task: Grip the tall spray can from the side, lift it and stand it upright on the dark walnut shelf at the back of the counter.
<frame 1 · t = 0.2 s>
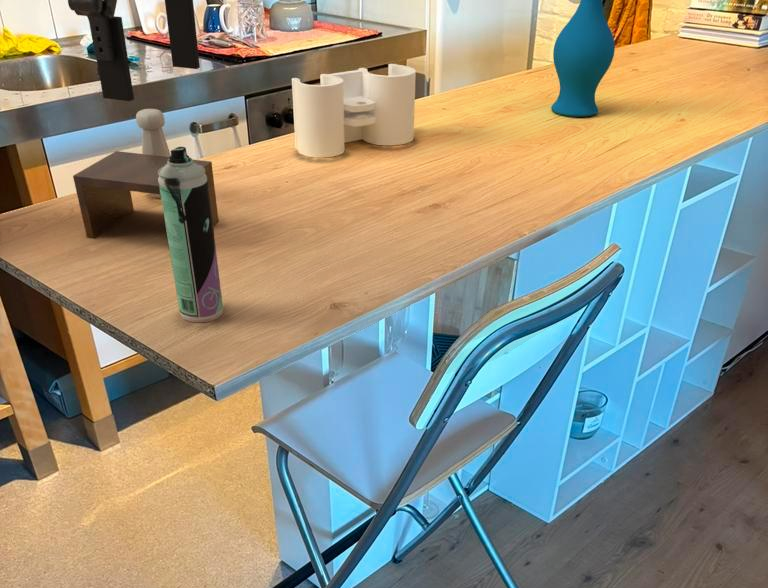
hand: (154, 82, 79), 28 cm above the breakfast bar, tool pointing down, fingers open, 13 cm apart
spray can: (202, 313, 104), on the breakfast bar
shelf: (154, 229, 124), on the breakfast bar
salt shaker: (162, 195, 136), on the breakfast bar
bracket: (357, 145, 158), on the breakfast bar
vase: (574, 113, 178), on the breakfast bar
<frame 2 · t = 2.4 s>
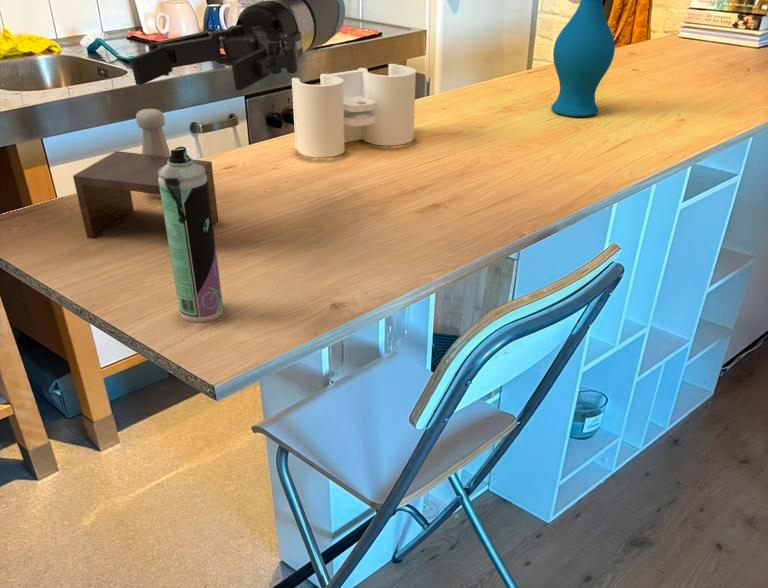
hand: (184, 74, 92), 26 cm above the breakfast bar, tool horizontal, fingers open, 13 cm apart
nothing on the breakfast bar moved.
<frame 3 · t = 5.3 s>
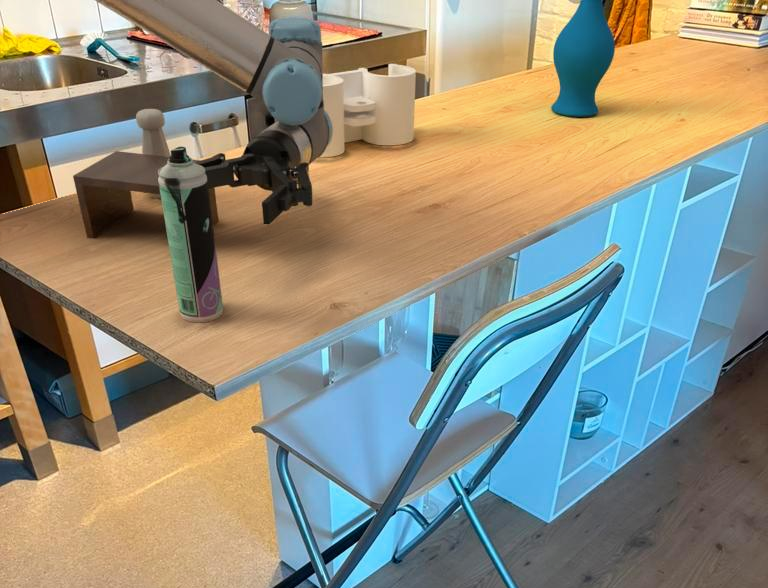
hand: (214, 207, 102), 11 cm above the breakfast bar, tool horizontal, fingers open, 13 cm apart
nothing on the breakfast bar moved.
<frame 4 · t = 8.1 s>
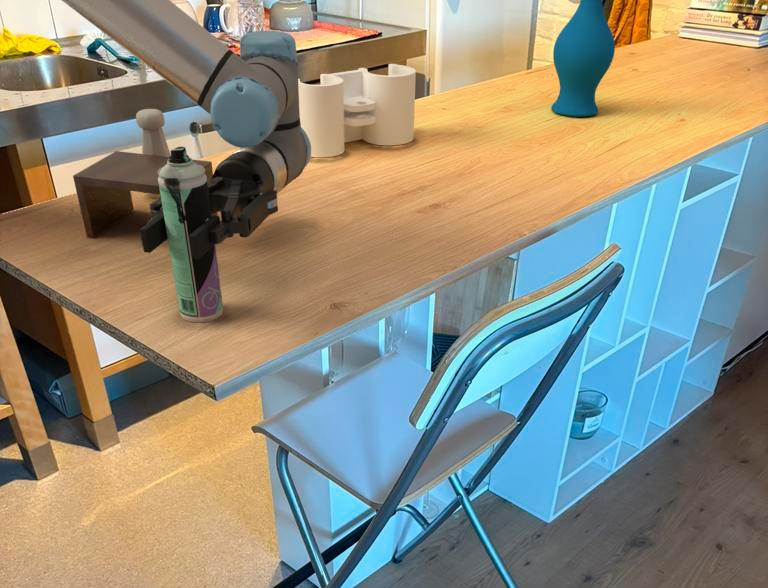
hand: (169, 244, 93), 11 cm above the breakfast bar, tool horizontal, fingers closed on spray can, 5 cm apart
spray can: (202, 313, 104), on the breakfast bar, touching gripper
everything else where it was.
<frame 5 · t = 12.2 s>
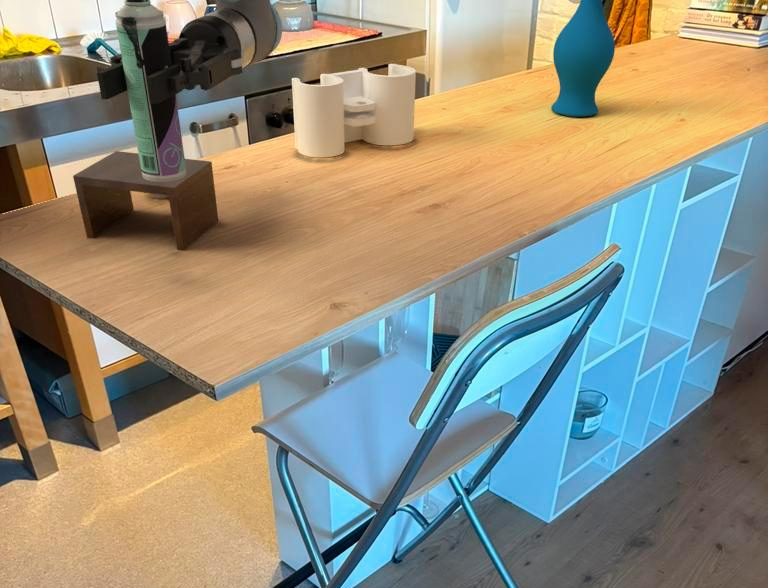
hand: (126, 88, 91), 25 cm above the breakfast bar, tool horizontal, fingers closed on spray can, 5 cm apart
spray can: (164, 176, 102), point 14 cm above the breakfast bar, touching gripper
everything else where it was.
when the fingers open (20 cm above the breakfast bar, at t = 16.3 s): spray can stays where it is, resting on shelf.
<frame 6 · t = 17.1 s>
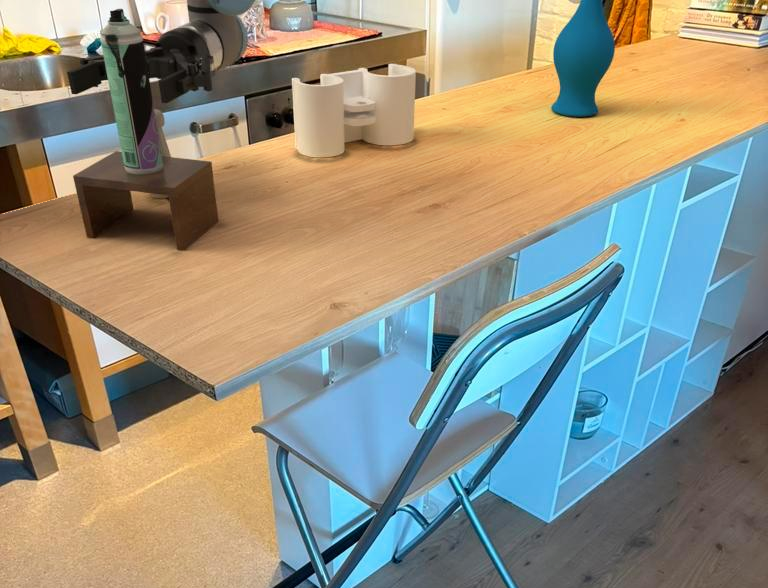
hand: (116, 87, 109), 20 cm above the breakfast bar, tool horizontal, fingers open, 13 cm apart
spray can: (144, 169, 119), point 9 cm above the breakfast bar, touching shelf
everything else where it was.
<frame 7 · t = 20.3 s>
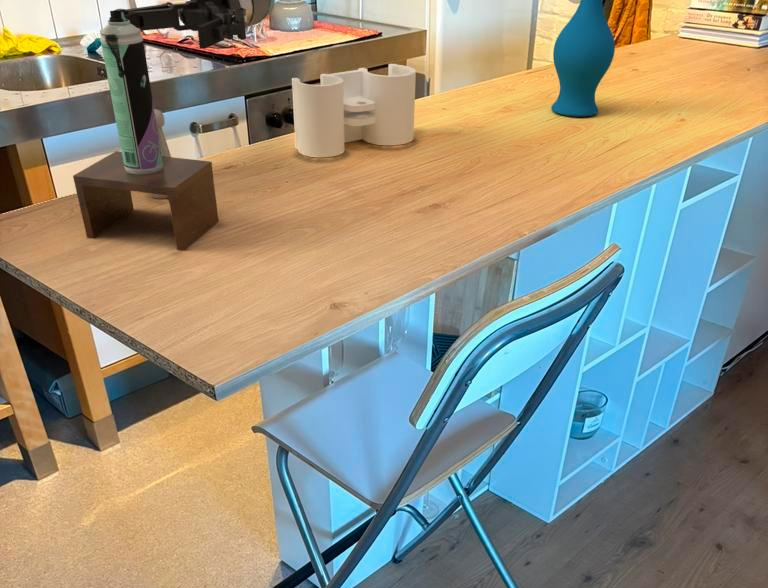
hand: (157, 34, 115), 25 cm above the breakfast bar, tool horizontal, fingers open, 13 cm apart
nothing on the breakfast bar moved.
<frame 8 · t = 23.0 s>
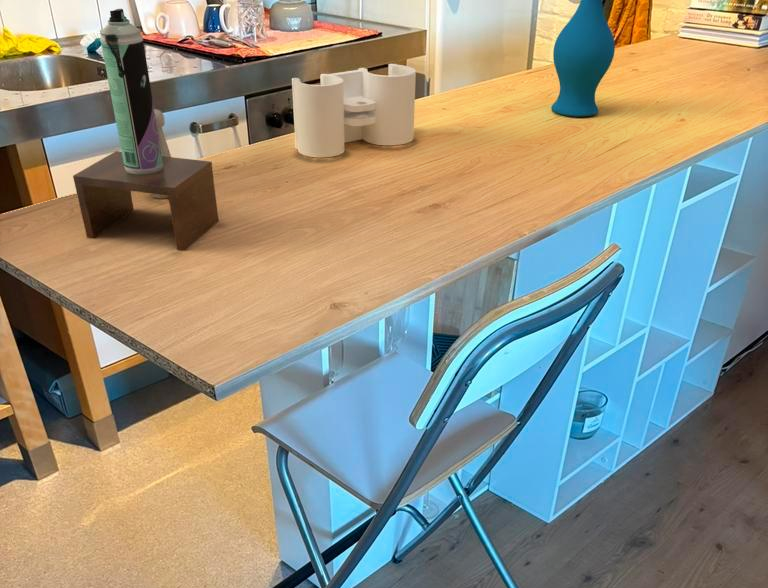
nothing on the breakfast bar moved.
at the end: spray can inside the target area on the shelf (0.0 cm from its centre), point 8.8 cm above the shelf's base; spray can tilted 0°; the gripper is holding nothing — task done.
